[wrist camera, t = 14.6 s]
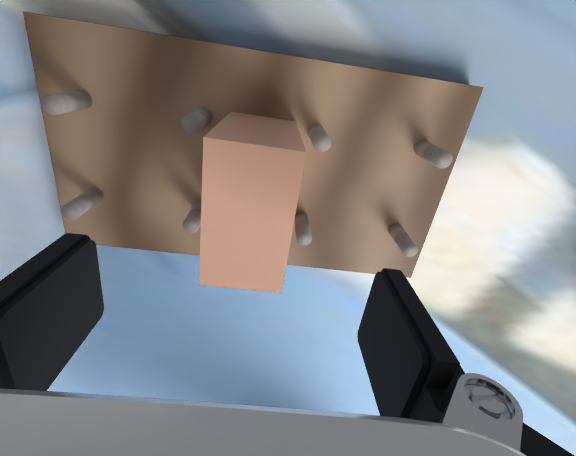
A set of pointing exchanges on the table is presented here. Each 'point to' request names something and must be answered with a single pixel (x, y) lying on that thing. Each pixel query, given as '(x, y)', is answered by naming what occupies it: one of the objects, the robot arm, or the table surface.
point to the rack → (249, 100)
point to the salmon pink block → (249, 201)
